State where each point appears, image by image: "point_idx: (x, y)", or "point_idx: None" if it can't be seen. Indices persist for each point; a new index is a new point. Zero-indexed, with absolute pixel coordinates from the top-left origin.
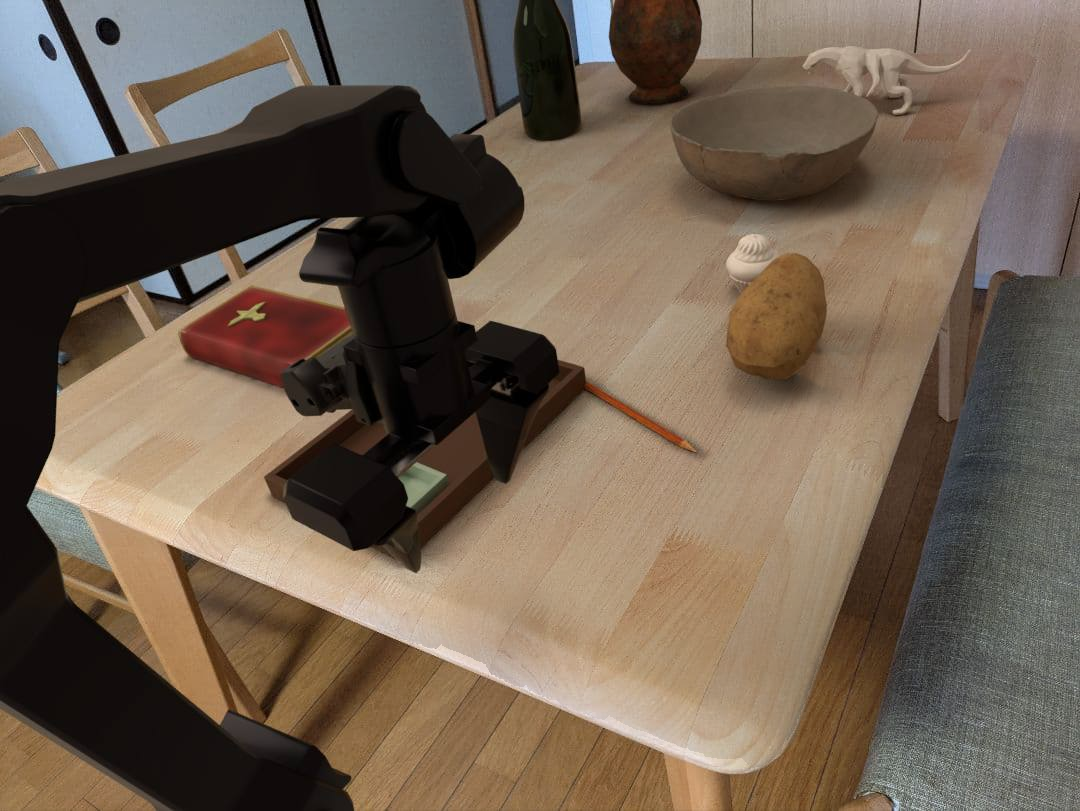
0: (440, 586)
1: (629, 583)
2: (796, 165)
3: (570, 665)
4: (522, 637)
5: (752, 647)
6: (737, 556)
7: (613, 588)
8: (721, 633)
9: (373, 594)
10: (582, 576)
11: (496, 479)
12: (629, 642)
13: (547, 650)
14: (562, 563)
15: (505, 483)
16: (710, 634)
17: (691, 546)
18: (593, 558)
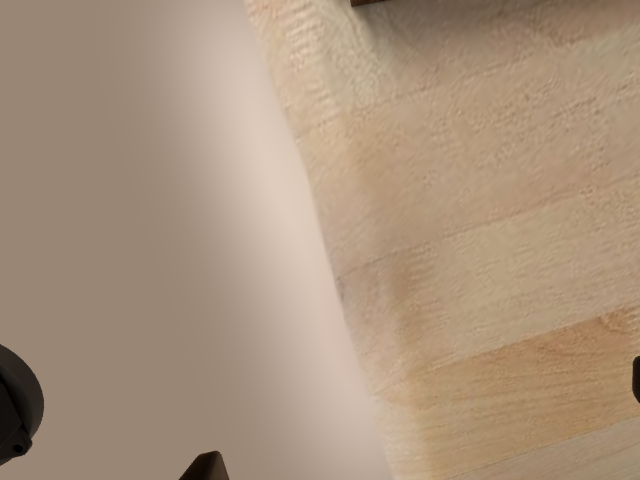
0: (360, 110)
1: (529, 324)
2: None
3: (383, 361)
4: (375, 286)
5: (526, 475)
6: None
7: (511, 315)
8: (524, 444)
9: (268, 22)
10: (505, 269)
11: (636, 361)
12: (454, 386)
13: (381, 325)
14: (509, 229)
15: (634, 392)
16: (516, 438)
17: (625, 339)
18: (541, 257)
